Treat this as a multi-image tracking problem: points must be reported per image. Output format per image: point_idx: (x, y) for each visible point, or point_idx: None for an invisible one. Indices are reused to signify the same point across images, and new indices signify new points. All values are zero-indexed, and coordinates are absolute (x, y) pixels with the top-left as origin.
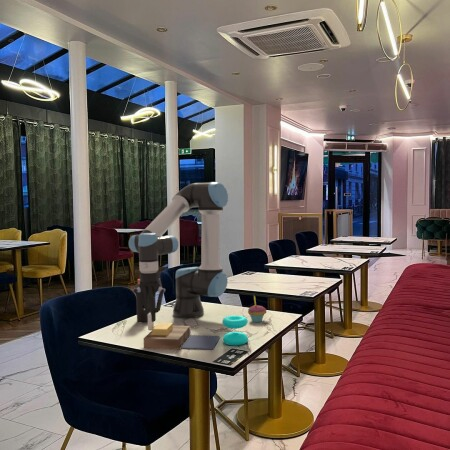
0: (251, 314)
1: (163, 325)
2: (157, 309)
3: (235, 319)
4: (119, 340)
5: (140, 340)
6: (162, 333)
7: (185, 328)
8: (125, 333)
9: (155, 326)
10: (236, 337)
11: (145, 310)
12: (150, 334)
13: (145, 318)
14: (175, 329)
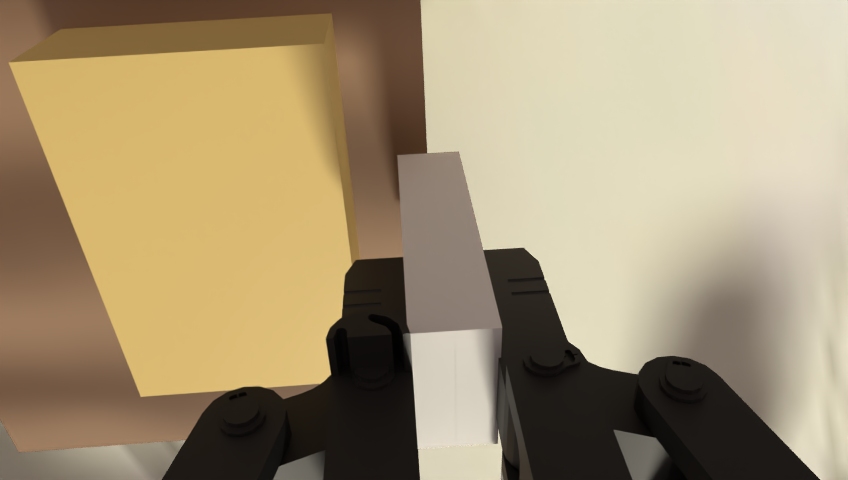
0: None
1: (217, 272)
2: (206, 461)
3: None
4: (841, 93)
5: (568, 133)
6: (129, 31)
7: (5, 370)
8: (795, 321)
9: (329, 202)
10: None
11: (582, 405)
12: (372, 33)
13: (546, 283)
14: None
